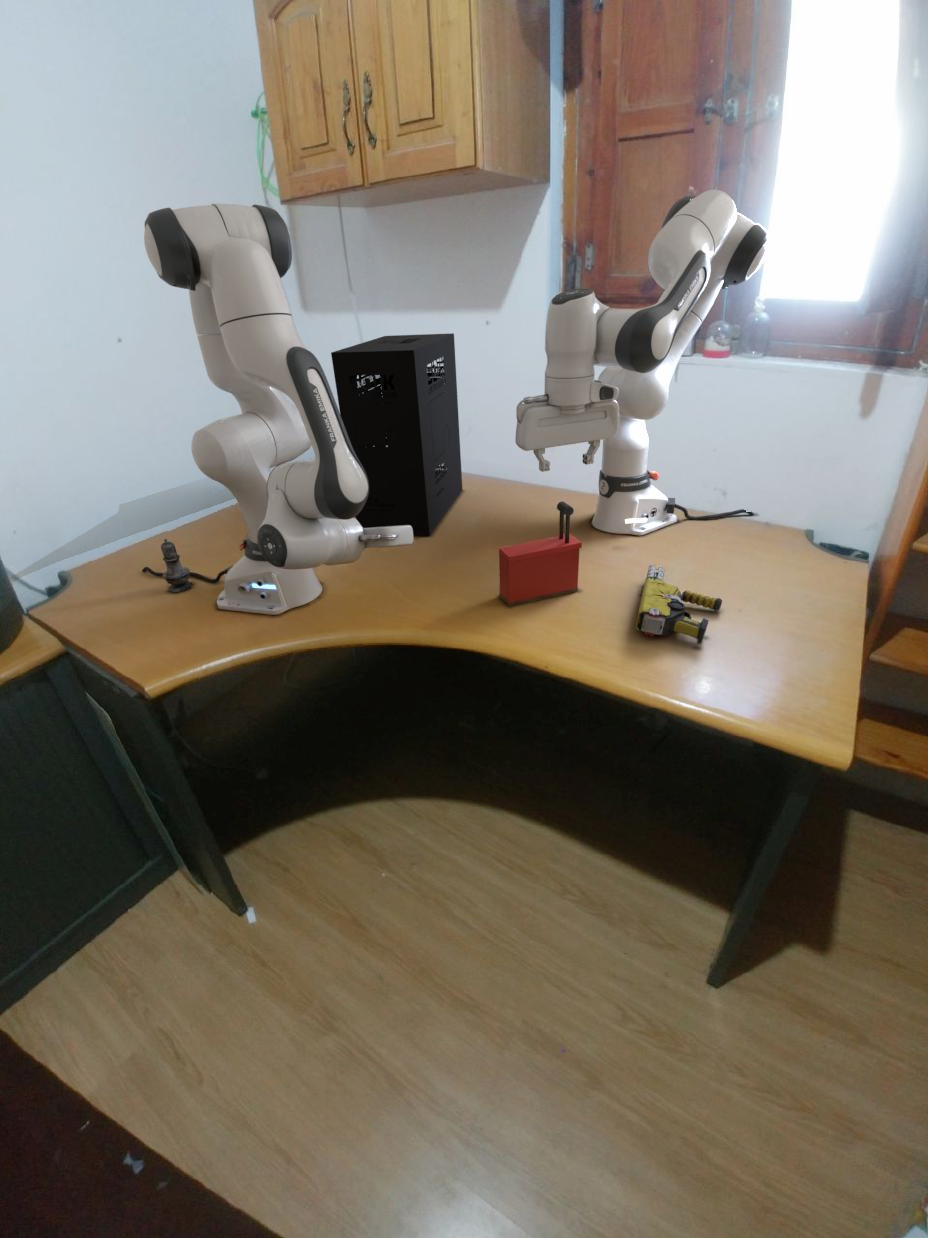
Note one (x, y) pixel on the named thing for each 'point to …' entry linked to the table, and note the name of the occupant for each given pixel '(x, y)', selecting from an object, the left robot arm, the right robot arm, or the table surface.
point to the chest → (538, 577)
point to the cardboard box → (403, 427)
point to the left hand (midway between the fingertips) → (391, 535)
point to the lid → (545, 541)
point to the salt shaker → (175, 569)
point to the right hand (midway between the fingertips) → (566, 466)
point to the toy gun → (670, 608)
